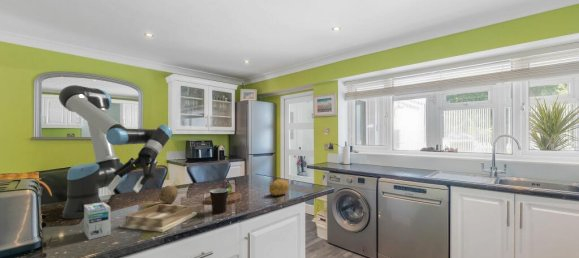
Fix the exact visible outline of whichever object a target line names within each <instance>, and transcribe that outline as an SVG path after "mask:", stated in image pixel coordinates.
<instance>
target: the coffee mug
mask: <svg viewBox="0 0 579 258" xmlns="http://www.w3.org/2000/svg"><path fill="white" fill-rule="evenodd" d="M209 196H211V204H210V205H211V211H212V213H213V214H223V213H226V212H227V207H228V206H227V205H228V204H227V199H228V188H226V189H221V188H219V189H217V188H215V189H211V190H209Z"/></svg>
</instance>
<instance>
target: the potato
mask: <svg viewBox="0 0 579 258" xmlns="http://www.w3.org/2000/svg"><path fill="white" fill-rule="evenodd" d="M268 190H269V194H270V195H272V196H276V197H277V196H278V195H279V196H282V195H284V194H285V193H287V192H288V190H289V182H287V181H286V180H284V179H278V178H277V179H276V180H274V181H273V182H272V183H271V184H270V185H269V188H268Z"/></svg>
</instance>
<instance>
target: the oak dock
mask: <svg viewBox="0 0 579 258" xmlns="http://www.w3.org/2000/svg"><path fill="white" fill-rule="evenodd" d="M193 208H194V207H193V206H191V205H179V204H167V203H158V204H155V205H153V206H150V207H147V208H144V209H141V210H138V211H136V212H132V213H129V214H126V215H125V217H124V218H125V221H124V222H123V223H120V224H119V228H125V229H134V230H140V231H141V230H144V231H151V232H152V231H153V232H161V233H163V232H165V231H167V230H169V229H171V228H174V227H175V226H177V225H179V224H181V223H184V222H185V221H188V220H189V219H191V218H193V217H195V216H197V215H198V212H197V211H193Z"/></svg>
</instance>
